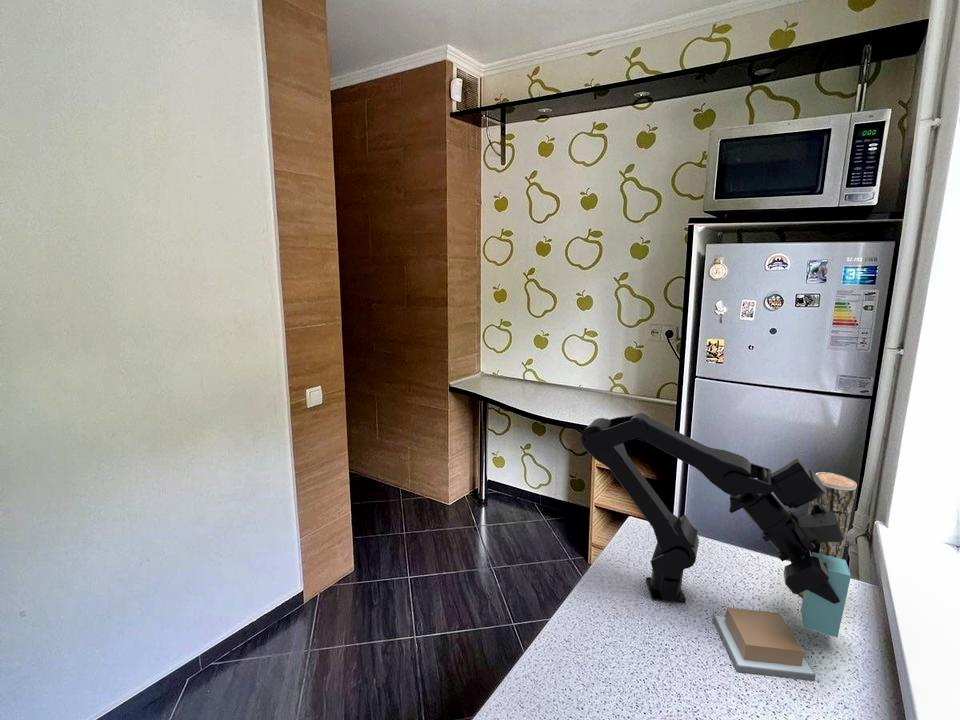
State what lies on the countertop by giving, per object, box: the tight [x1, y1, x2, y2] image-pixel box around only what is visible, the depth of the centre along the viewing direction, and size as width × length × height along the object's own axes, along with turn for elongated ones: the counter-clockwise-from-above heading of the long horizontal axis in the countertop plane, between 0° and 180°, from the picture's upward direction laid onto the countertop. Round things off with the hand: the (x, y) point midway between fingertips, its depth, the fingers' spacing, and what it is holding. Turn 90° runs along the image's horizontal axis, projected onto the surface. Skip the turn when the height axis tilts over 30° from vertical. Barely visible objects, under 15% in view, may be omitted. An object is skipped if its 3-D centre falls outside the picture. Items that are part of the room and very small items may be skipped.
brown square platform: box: [712, 607, 817, 682], centre depth 88 cm, size 12×12×4 cm
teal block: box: [800, 552, 852, 639], centre depth 89 cm, size 5×5×12 cm
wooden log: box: [798, 471, 858, 597], centre depth 100 cm, size 7×7×25 cm
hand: (834, 593), depth 88 cm, fingers closed on teal block, 5 cm apart
